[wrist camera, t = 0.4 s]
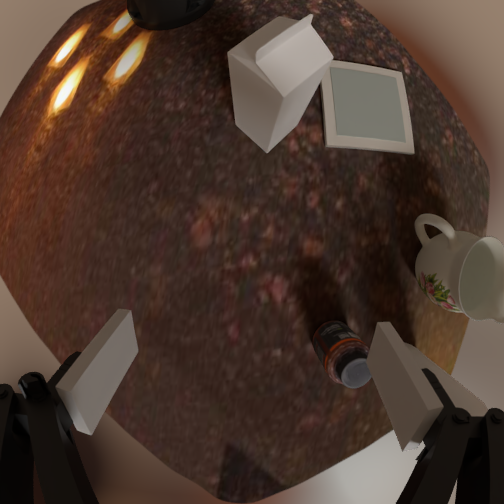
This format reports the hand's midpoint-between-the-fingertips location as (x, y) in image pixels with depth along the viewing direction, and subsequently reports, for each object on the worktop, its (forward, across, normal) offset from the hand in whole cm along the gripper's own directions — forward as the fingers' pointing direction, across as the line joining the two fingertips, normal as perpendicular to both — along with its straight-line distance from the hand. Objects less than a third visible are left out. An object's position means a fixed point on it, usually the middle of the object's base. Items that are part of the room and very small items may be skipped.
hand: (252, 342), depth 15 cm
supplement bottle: (+23, +11, -15) cm, 30 cm away
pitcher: (+26, +26, -4) cm, 37 cm away
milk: (+29, 0, +14) cm, 32 cm away
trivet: (+30, +15, +18) cm, 38 cm away
